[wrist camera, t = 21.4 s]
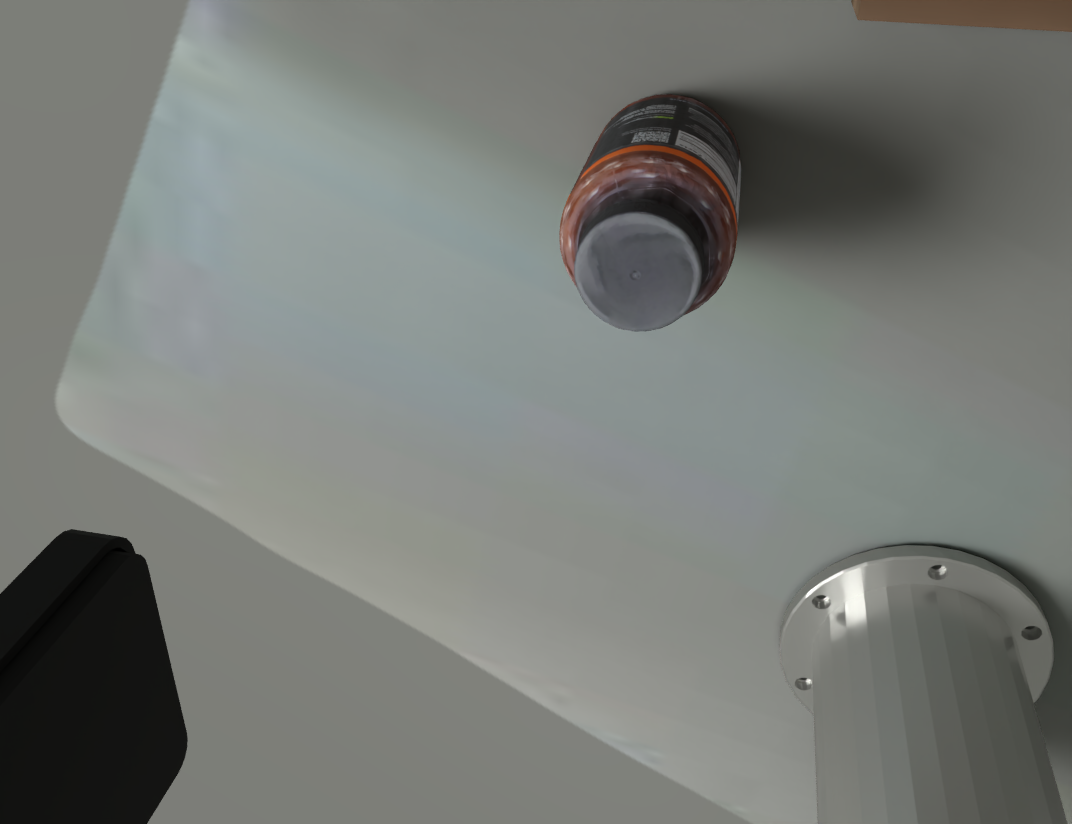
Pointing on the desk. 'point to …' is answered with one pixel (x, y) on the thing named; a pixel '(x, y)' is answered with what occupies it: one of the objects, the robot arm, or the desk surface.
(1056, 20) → the socket block
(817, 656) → the robot arm
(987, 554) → the desk surface
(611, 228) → the supplement bottle
